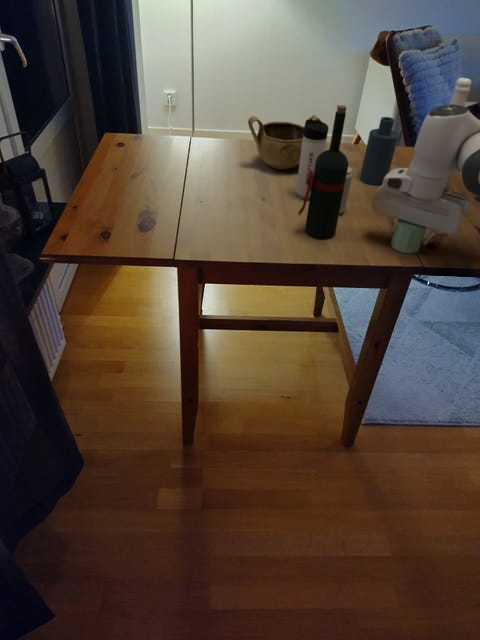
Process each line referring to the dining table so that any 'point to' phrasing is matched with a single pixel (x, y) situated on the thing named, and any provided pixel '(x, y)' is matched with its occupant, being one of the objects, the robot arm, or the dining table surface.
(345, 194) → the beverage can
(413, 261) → the dining table surface
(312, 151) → the travel mug
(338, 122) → the wine bottle
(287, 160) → the ceramic bowl
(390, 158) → the water bottle
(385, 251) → the dining table surface
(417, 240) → the paper cup
